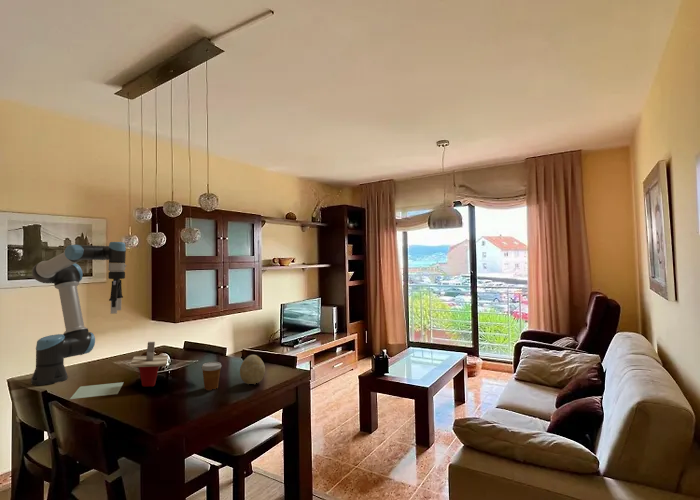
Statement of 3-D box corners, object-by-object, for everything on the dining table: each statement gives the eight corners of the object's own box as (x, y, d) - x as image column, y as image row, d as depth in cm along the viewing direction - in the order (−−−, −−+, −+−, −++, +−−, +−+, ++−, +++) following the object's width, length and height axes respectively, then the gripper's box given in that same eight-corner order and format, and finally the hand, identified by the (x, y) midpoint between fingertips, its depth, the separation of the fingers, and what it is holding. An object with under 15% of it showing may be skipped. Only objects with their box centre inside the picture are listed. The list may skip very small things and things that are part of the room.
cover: (134, 358, 202) (135, 338, 202) (167, 357, 208) (169, 338, 208) (129, 367, 187) (131, 346, 187) (165, 366, 193) (167, 346, 193)
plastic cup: (150, 389, 191) (151, 365, 191) (131, 388, 193) (132, 364, 194) (165, 383, 202) (166, 359, 202) (147, 381, 204) (147, 358, 204)
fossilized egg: (252, 379, 209) (252, 351, 210) (270, 382, 203) (270, 354, 203) (234, 385, 198) (234, 355, 199) (252, 389, 192) (252, 359, 192)
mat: (80, 387, 194) (80, 386, 194) (123, 383, 201) (123, 382, 201) (69, 400, 176) (69, 399, 176) (117, 394, 184) (117, 393, 184)
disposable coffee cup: (200, 392, 188) (200, 367, 188) (202, 386, 197) (202, 362, 198) (220, 390, 191) (221, 365, 191) (221, 384, 200) (222, 361, 200)
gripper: (121, 271, 193) (120, 314, 193) (128, 270, 216) (127, 308, 216) (103, 271, 191) (102, 315, 190) (112, 270, 214) (112, 309, 213)
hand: (116, 311), depth 203 cm, fingers open, 13 cm apart
